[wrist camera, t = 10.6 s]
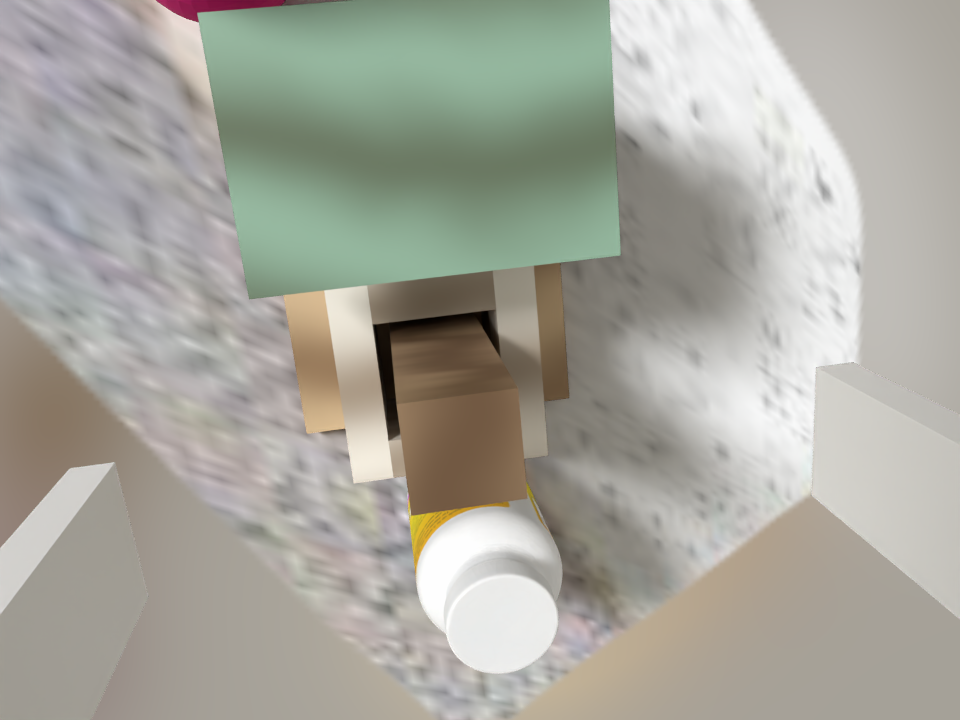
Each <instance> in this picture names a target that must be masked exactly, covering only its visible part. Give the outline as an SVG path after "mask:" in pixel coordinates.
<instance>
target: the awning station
mask: <svg viewBox="0 0 960 720" xmlns="http://www.w3.org/2000/svg"><path fill="white" fill-rule="evenodd" d="M197 14H198V20H199V25H200V31H201V36H202V42H203V48H204V53H205V59H206V64H207V70H208V75H209V81H210V86H211V92H212V97H213V103H214V108H215V114H216V119H217V125H218V130H219V136H220V141H221V147H222V152H223V158H224V163H225V169H226V174H227V180H228V185H229V191H230V196H231V202H232V207H233V213H234V218H235V224H236V229H237V235H238V240H239V246H240V251H241V257H242V262H243V268H244V273H245V279H246V284H247V290H248V295H249V299H256V298H264V297H273V296H281V295H284V301H285V307H286V313H287V319H288V325H289V330H290V336H291V342H292V348H293V354H294V360H295V366H296V372H297V378H298V384H299V390H300V396H301V402H302V407H303V413H304V419H305V425H306V431H307V434H308V433H315V432H323V431H330V430H337V429H346V436H347V442H348V449H349V455H350V462H351V468H352V475H353V481H354V483H361V482H368V481H375V480H382V479H389V478H396V477H403V476H406V472H405V464H404V457H403V449H402V442H401V434H400V427H399V419H398V412H397V404H396V393H395V382H394V371H393V361H392V350H391V339H390V328H389V322H398V321H406V320H414V319H422V318H430V317H438V316H446V315H454V314H463V313H471V312H473V313H474V314H475V316H476V318H477V319H478V321H479V323H480V324H481V326H482V328H483V329H484V331H485V333H486V335H487V336H488V338H489V340H490V341H491V343H492V345H493V346H494V348H495V350H496V352H497V353H498V355H499V357H500V358H501V360H502V362H503V363H504V365H505V367H506V368H507V370H508V372H509V374H510V375H511V377H512V379H513V380H514V382H515V384H516V385H517V387H518V393H519V404H520V416H521V427H522V439H523V450H524V459H529V458H536V457H543V456H548V444H547V432H546V419H545V406H544V401H551V400H558V399H566V398H569V387H568V372H567V357H566V342H565V327H564V313H563V298H562V283H561V268H560V263H561V262H569V261H578V260H586V259H595V258H603V257H612V256H620V255H621V250H620V228H619V206H618V184H617V162H616V140H615V118H614V96H613V74H612V52H611V30H610V8H609V0H348V1H336V2H324V3H311V4H299V5H287V6H275V7H262V8H250V9H238V10H226V11H213V12H201V13H197Z"/></svg>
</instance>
